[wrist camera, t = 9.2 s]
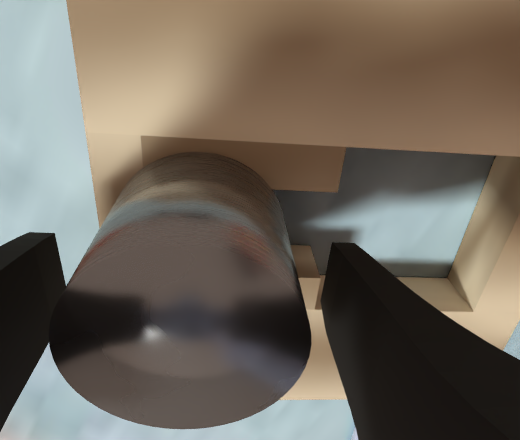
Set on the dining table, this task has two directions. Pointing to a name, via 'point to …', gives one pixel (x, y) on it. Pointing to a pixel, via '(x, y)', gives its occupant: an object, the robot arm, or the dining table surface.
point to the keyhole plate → (317, 117)
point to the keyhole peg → (185, 299)
